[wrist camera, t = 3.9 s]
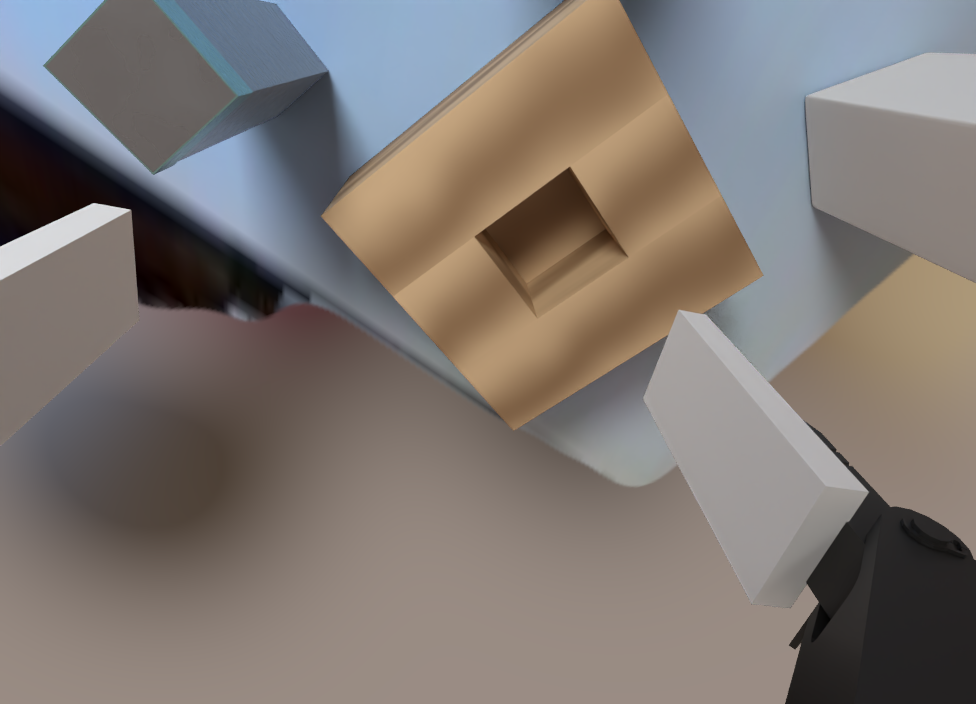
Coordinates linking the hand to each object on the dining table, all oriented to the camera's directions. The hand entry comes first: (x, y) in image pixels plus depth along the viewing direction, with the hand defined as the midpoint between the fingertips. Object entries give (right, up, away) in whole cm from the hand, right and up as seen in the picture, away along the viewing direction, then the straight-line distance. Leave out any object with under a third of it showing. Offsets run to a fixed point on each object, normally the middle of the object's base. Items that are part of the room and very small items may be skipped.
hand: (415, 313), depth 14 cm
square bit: (-10, +15, +18) cm, 26 cm away
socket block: (+4, +9, +23) cm, 25 cm away
